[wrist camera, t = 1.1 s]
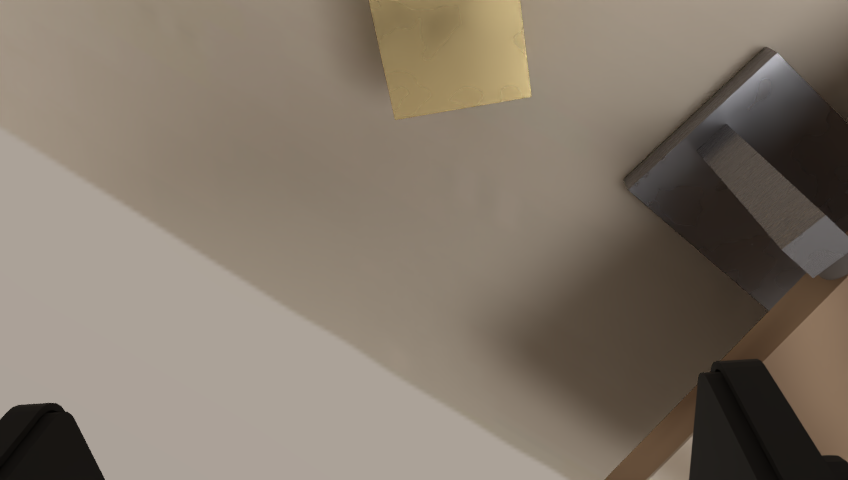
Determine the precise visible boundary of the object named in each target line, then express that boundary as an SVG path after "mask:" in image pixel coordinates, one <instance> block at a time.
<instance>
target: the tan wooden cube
mask: <svg viewBox="0 0 848 480" xmlns="http://www.w3.org/2000/svg"><path fill="white" fill-rule="evenodd" d="M369 4H370V9H371V14H372V18H373V23H374V27H375V32H376V36H377V41H378V45H379V50H380V54H381V59H382V63H383V68H384V72H385V77H386V81H387V86H388V90H389V95H390V99H391V104H392V109H393V113H394V118H395V120H398V119H404V118H410V117H415V116H421V115H427V114H433V113H439V112H445V111H451V110H457V109H463V108H469V107H475V106H481V105H486V104H492V103H498V102H504V101H510V100H516V99H522V98H528V97H532V96H531V88H530V80H529V71H528V63H527V55H526V46H525V38H524V30H523V21H522V13H521V5H520V0H369Z"/></svg>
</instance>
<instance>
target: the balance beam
mask: <svg viewBox="0 0 848 480" xmlns="http://www.w3.org/2000/svg"><path fill="white" fill-rule="evenodd" d="M845 234H846V235H847V236H848V231H847V232H846V233H845ZM743 359H759V360H761V361H762V362H763V364H764V365H765V366H766V368H767V369H768V371H769V373H770V374H771V376H772V377H773V379H774V381H775V382H776V384H777V385H778V387H779V388H780V390H781V392H782V393H783V395H784V396H785V398H786V400H787V401H788V403H789V404H790V406H791V407H792V409H793V411H794V412H795V414H796V415H797V417H798V419H799V420H800V422H801V423H802V425H803V427H804V428H805V430H806V431H807V433H808V434H809V436H810V438H811V439H812V441H813V442H814V444H815V446H816V447H817V449H818V450H819V452H820V454H821V455H838V456H840V457H841V458H843V459H844V460H846V461H847V462H848V253H847V254H845V255H844V256H843V257H841V258H840V259H839V260H837V261H836V262H834V263H833V264H832V265H830V266H829V267H828V268H826V269H825V270H824V271H822V272H821V273H820V274H818V275H817V276H815V277H814V278H812V277H811V276H810V275H809V274H808V273H806V274H805V275H804V276H803V277H802V278H801V279H800V280H799V281H798V282H797V283H796V284H795V285H794V286H793V287H792V288H791V289H790V290H789V291H788V292H787V293H786V294H785V295H784V296H783V297H782V298H781V299H780V300H779V301H778V302H777V303H776V304H775V305H774V306H773V308H772V309H771V310H770V311H769V312H768V313H767V314H766V315H765V316H764V317H763V318H762V319H761V320H760V321H759V322H758V323H757V324H756V325H755V326H754V327H753V328H752V329H751V330H750V331H749V332H748V333H747V334H746V335H745V336H744V337H743V338H742V339H741V340H740V341H739V342H738V343H737V344H736V345H735V346H734V347H733V349H732V350H731V351H730V352H729V353H728V354H727V355H726V356H725V357H724V358H723V359H722V360H721V361H727V360H743ZM710 372H711V371H710ZM696 396H697V385H696V386H695V387H694V388H693V389H692V391H691V392H690V393H689V394H688V395H687V396H686V397H685V398H684V399H683V400H682V401H681V402H680V403H679V404H678V405H677V406H676V407H675V408H674V409H673V410H672V411H671V412H670V413H669V414H668V415H667V416H666V417H665V418H664V419H663V420H662V421H661V422H660V423H659V424H658V425H657V426H656V427H655V428H654V429H653V430H652V432H651V433H650V434H649V435H648V436H647V437H646V438H645V439H644V440H643V441H642V442H641V443H640V444H639V445H638V446H637V447H636V448H635V449H634V450H633V451H632V452H631V453H630V454H629V455H628V456H627V457H626V458H625V459H624V460H623V461H622V462H621V463H620V464H619V465H618V466H617V467H616V468H615V469H614V470H613V471H612V473H611V474H610V475H609V476H608V477H607V478H606V479H605V480H689V474H690V462H691V451H692V440H693V429H694V418H695V407H696Z"/></svg>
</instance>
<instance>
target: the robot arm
mask: <svg viewBox="0 0 848 480" xmlns="http://www.w3.org/2000/svg"><path fill="white" fill-rule="evenodd" d="M0 480H105V479H104V477H103V475H102V473H101V471H100V469H99V467H98V465H97V463H96V461H95V459H94V457H93V455H92V453H91V451H90V449H89V447H88V445H87V443H86V441H85V439H84V437H83V435H82V433H81V431H80V429H79V427H78V425H77V423H76V421H75V419H74V418H73V416H72V415H71V414H70V413H68V412H65V411H64V409H63V408H62V407H61V406H60V405H58V404H56V403H43V404H27V405H18V406H15V407H13V408H11V409H10V410H9V411H8V412H7V413H6V414H5V415H4V416H3V417H2V418H1V420H0ZM689 480H848V462H847V461H846V460H844V459H843V458H841V457H840V456H838V455H821V454H820V452H819V450H818V449H817V447H816V446H815V444H814V442H813V441H812V439H811V438H810V436H809V434H808V433H807V431H806V430H805V428H804V427H803V425H802V423H801V422H800V420H799V419H798V417H797V415H796V414H795V412H794V411H793V409H792V407H791V406H790V404H789V403H788V401H787V400H786V398H785V396H784V395H783V393H782V392H781V390H780V388H779V387H778V385H777V384H776V382H775V381H774V379H773V377H772V376H771V374H770V373H769V371H768V369H767V368H766V366H765V365H764V364H763V362H762V361H761V360H759V359H743V360H727V361H716V362H714V363H713V365H712V367H711V372H706V373H700V375H699V377H698V384H697V396H696V407H695V418H694V429H693V440H692V451H691V462H690V474H689Z"/></svg>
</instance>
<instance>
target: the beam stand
mask: <svg viewBox="0 0 848 480" xmlns="http://www.w3.org/2000/svg"><path fill="white" fill-rule="evenodd" d="M623 181H624V183H625V185H626V186H627V188H628V190H629V191H630V192H631V193H632V194H633V195H635V196H636V197H637V198H638V199H639V200H640V201H642V202H643V203H644V204H645V205H646V206H647V207H649V208H650V209H651V210H652V211H653V212H654V213H656V214H657V215H658V216H659V217H660V218H661V219H663V220H664V221H665V222H666V223H667V224H668V225H670V226H671V227H672V228H673V229H674V230H675V231H676V232H678V233H679V234H680V235H681V236H682V237H683V238H685V239H686V240H687V241H688V242H689V243H690V244H692V245H693V246H694V247H695V248H696V249H697V250H699V251H700V252H701V253H702V254H703V255H704V256H706V257H707V258H708V259H709V260H710V261H711V262H713V263H714V264H715V265H716V266H717V267H718V268H720V269H721V270H722V271H723V272H724V273H725V274H727V275H728V276H729V277H730V278H731V279H732V280H733V281H735V282H736V283H737V284H738V285H739V286H740V287H742V288H743V289H744V290H745V291H746V292H747V293H749V294H750V295H751V296H752V297H753V298H754V299H756V300H757V301H758V302H759V303H760V304H761V305H763V306H764V307H765V308H766V309H767V310H768V311H770V310H771V309H772V308H773V306H774V305H775V304H776V303H777V302H778V301H779V300H780V299H781V298H782V297H783V296H784V295H785V294H786V293H787V292H788V291H789V290H790V289H791V288H792V287H793V286H794V285H795V284H796V283H797V282H798V281H799V280H800V279H801V278H802V277H803V276H804V275H805V274H806V273H808V274H809V275H810V276H811V277H812V278H814V277H815V276H817V275H818V274H820V273H821V272H822V271H824V270H825V269H826V268H828V267H829V266H830V265H832V264H833V263H834V262H836V261H837V260H839V259H840V258H841V257H843V256H844V255H845V254H847V253H848V236H847V235H846V234H845V233H846V232H847V231H848V124H847V123H846V122H845V121H844V120H843V119H842V118H841V117H840V116H839V115H838V114H837V113H836V112H835V111H834V110H833V109H832V108H831V107H830V106H829V105H828V104H827V103H826V102H825V101H824V100H823V99H822V98H821V97H820V96H819V95H818V94H817V93H816V92H815V91H814V90H813V89H812V88H811V87H810V86H809V85H808V84H807V82H806V81H805V80H804V79H803V78H802V77H801V76H800V75H799V74H798V73H797V72H796V71H795V70H794V69H793V68H792V67H791V66H790V65H789V64H788V63H787V62H786V61H785V60H784V59H783V58H782V57H781V56H780V55H779V54H778V53H777V52H775V51H773V50H771V49H769V48H767V47H765V48H764V49H763V50H762V51H761V52H759V53H758V54H757V55H756V56H755V57H754V58H753V59H752V60H751V61H750V62H749V63H748V64H747V65H746V66H744V67H743V68H742V69H741V70H740V71H739V72H738V73H737V74H736V75H735V76H734V77H733V78H732V79H731V80H729V81H728V82H727V83H726V84H725V85H724V86H723V87H722V88H721V89H720V90H719V91H718V92H717V93H716V94H715V95H713V96H712V97H711V98H710V99H709V100H708V101H707V102H706V103H705V104H704V105H703V106H702V107H701V108H700V109H698V110H697V111H696V112H695V113H694V114H693V115H692V116H691V117H690V118H689V119H688V120H687V121H686V122H685V123H683V124H682V125H681V126H680V127H679V128H678V129H677V130H676V131H675V132H674V133H673V134H672V135H671V136H670V137H668V138H667V139H666V140H665V141H664V142H663V143H662V144H661V145H660V146H659V147H658V148H657V149H656V150H655V151H654V152H652V153H651V154H650V155H649V156H648V157H647V158H646V159H645V160H644V161H643V162H642V163H641V164H640V165H639V166H637V167H636V168H635V169H634V170H633V171H632V172H631V173H630V174H629V175H628V176H627V177H626V178H625V179H624V180H623Z"/></svg>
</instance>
